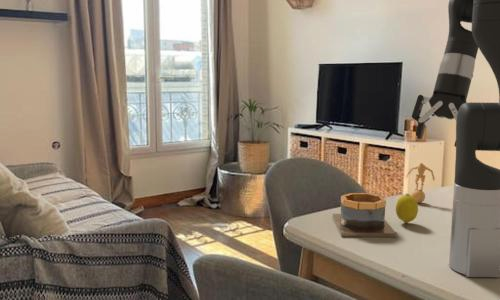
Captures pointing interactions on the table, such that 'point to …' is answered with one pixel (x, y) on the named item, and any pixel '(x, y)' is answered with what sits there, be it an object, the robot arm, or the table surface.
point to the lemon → (406, 208)
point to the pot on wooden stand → (363, 216)
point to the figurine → (417, 193)
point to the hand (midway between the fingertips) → (437, 142)
